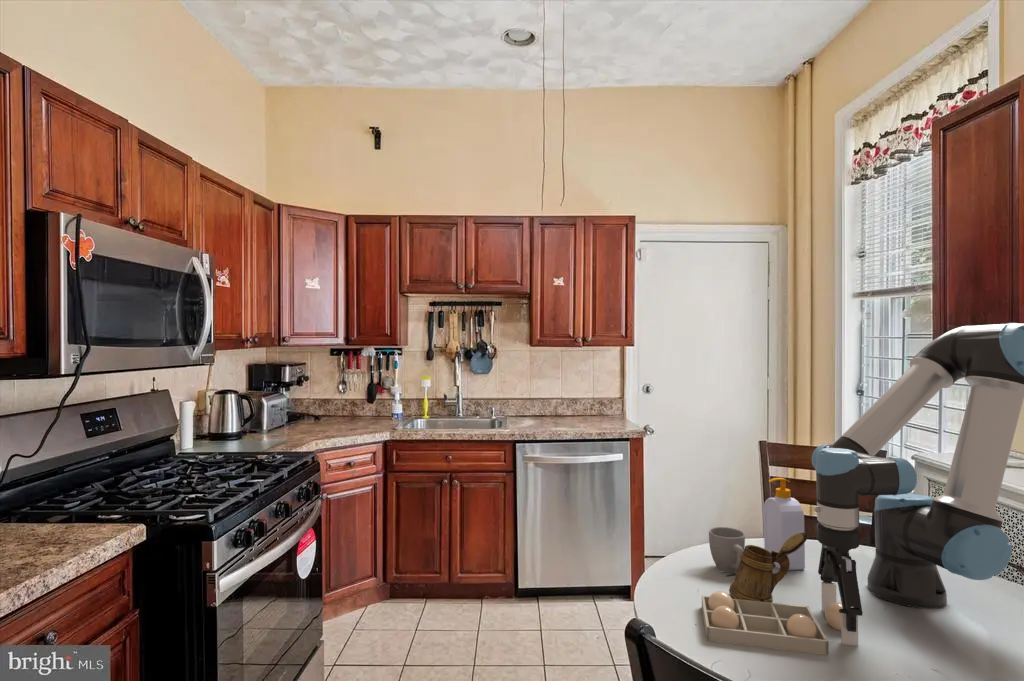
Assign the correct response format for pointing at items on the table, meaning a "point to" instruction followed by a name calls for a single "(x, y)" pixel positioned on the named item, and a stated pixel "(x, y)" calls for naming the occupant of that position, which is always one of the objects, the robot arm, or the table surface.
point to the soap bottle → (783, 524)
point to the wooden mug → (763, 570)
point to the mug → (726, 548)
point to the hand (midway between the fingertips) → (838, 628)
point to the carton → (765, 627)
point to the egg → (834, 615)
